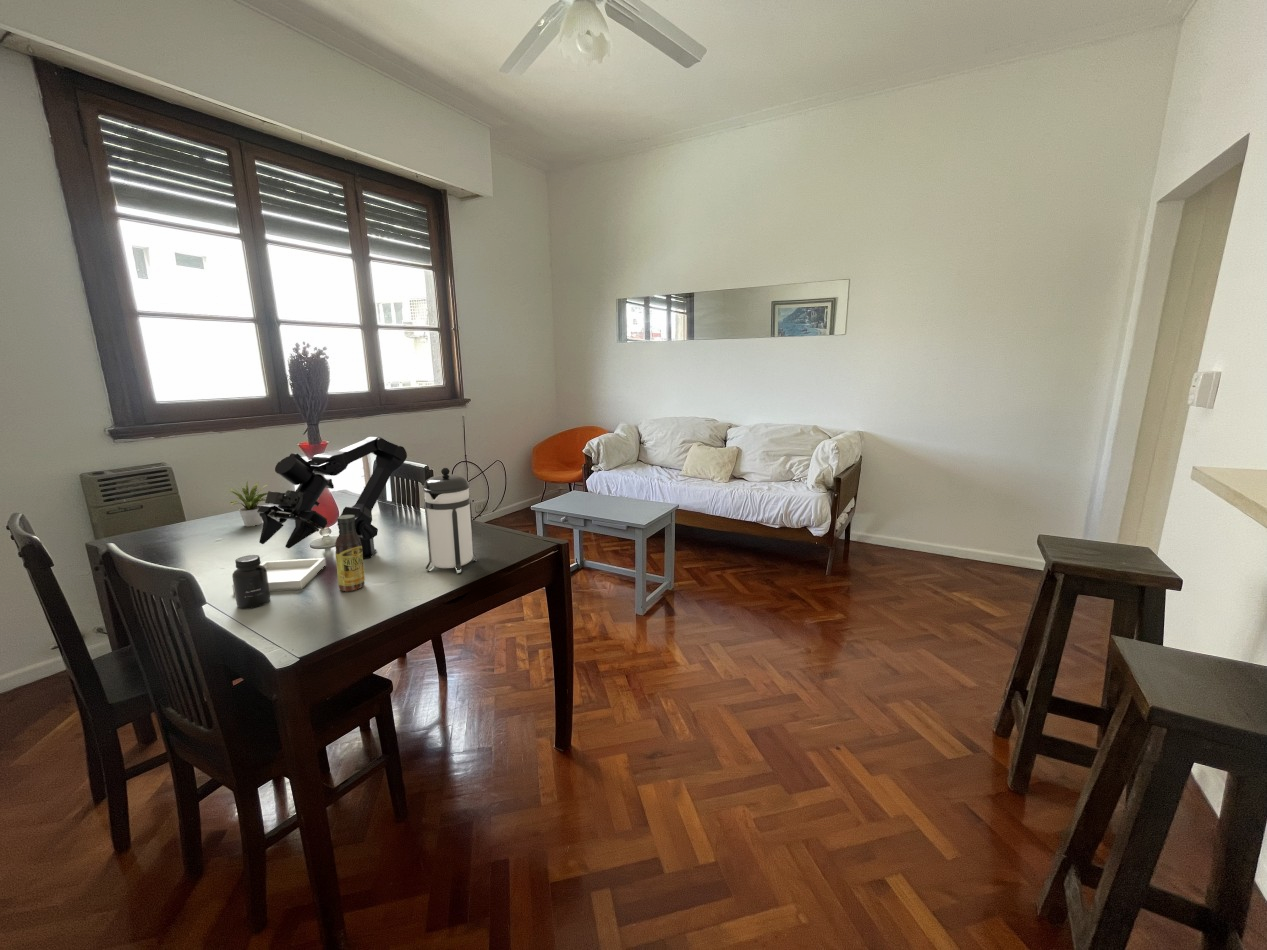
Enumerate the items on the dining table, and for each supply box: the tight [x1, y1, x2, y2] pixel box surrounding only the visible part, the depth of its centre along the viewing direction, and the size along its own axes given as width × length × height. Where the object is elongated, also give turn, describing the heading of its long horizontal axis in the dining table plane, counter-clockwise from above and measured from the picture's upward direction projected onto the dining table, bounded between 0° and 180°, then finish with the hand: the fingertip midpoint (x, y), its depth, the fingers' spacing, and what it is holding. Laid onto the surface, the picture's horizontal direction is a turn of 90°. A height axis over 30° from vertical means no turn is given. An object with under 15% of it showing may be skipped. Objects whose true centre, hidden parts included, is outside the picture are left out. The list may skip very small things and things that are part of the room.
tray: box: [231, 557, 327, 595], centre depth 139 cm, size 16×16×2 cm
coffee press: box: [421, 467, 477, 570], centre depth 147 cm, size 17×16×30 cm
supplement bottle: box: [231, 554, 271, 610], centre depth 124 cm, size 7×7×12 cm
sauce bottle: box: [334, 515, 366, 592], centre depth 132 cm, size 6×6×20 cm
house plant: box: [227, 480, 268, 527], centre depth 182 cm, size 14×14×16 cm
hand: (274, 545), depth 129 cm, fingers open, 9 cm apart
